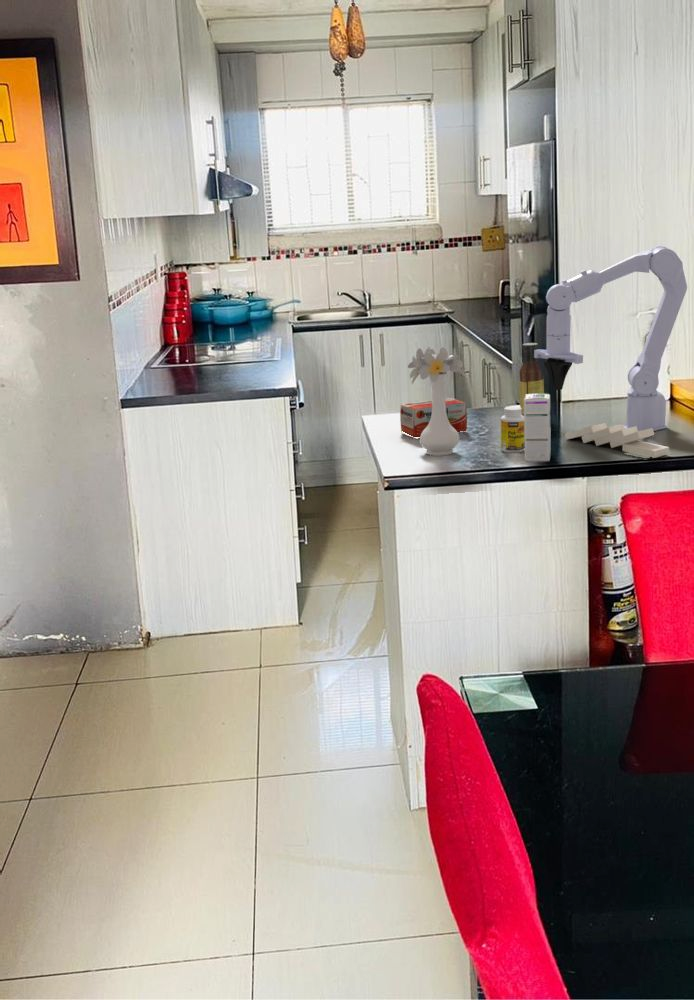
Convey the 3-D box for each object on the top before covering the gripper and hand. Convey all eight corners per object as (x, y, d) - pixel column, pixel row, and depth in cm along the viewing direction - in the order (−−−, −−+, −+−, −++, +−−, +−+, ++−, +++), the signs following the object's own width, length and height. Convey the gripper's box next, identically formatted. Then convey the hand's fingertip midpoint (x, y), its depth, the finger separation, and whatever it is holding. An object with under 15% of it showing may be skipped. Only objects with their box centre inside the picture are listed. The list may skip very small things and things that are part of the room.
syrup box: (550, 461, 237) (550, 398, 233) (523, 461, 238) (523, 398, 234) (550, 455, 243) (551, 393, 238) (524, 455, 244) (524, 393, 240)
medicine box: (452, 426, 275) (451, 396, 273) (467, 432, 268) (467, 401, 266) (400, 434, 270) (399, 403, 268) (414, 440, 263) (413, 409, 260)
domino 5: (622, 444, 242) (654, 451, 235) (637, 440, 244) (669, 447, 237) (622, 450, 242) (653, 458, 235) (637, 447, 245) (668, 454, 238)
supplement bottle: (505, 454, 245) (505, 411, 242) (497, 449, 250) (497, 406, 247) (528, 452, 246) (528, 409, 243) (519, 446, 251) (519, 404, 248)
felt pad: (641, 450, 243) (641, 448, 243) (662, 454, 239) (662, 453, 238) (624, 454, 240) (624, 453, 240) (645, 459, 235) (645, 458, 235)
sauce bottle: (547, 417, 280) (548, 342, 274) (538, 422, 275) (539, 346, 269) (524, 415, 284) (525, 341, 278) (515, 420, 279) (515, 345, 273)
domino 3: (594, 439, 249) (621, 429, 241) (608, 436, 251) (636, 426, 244) (596, 446, 249) (623, 436, 241) (610, 442, 251) (638, 432, 244)
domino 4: (609, 441, 245) (637, 431, 237) (624, 437, 248) (652, 427, 240) (611, 448, 245) (639, 438, 237) (626, 444, 248) (654, 434, 240)
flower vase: (449, 441, 260) (447, 339, 253) (477, 458, 243) (476, 349, 235) (398, 446, 257) (395, 343, 249) (424, 464, 240) (421, 354, 232)
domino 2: (581, 437, 252) (608, 427, 244) (596, 433, 254) (622, 423, 247) (583, 443, 252) (610, 433, 244) (598, 439, 254) (624, 430, 247)
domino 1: (564, 433, 256) (591, 426, 248) (579, 430, 259) (605, 422, 251) (566, 439, 256) (592, 432, 248) (580, 436, 259) (607, 429, 251)
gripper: (525, 334, 262) (525, 388, 266) (568, 339, 251) (568, 395, 255) (545, 330, 266) (545, 384, 270) (589, 335, 255) (588, 391, 258)
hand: (557, 389), depth 263 cm, fingers closed
